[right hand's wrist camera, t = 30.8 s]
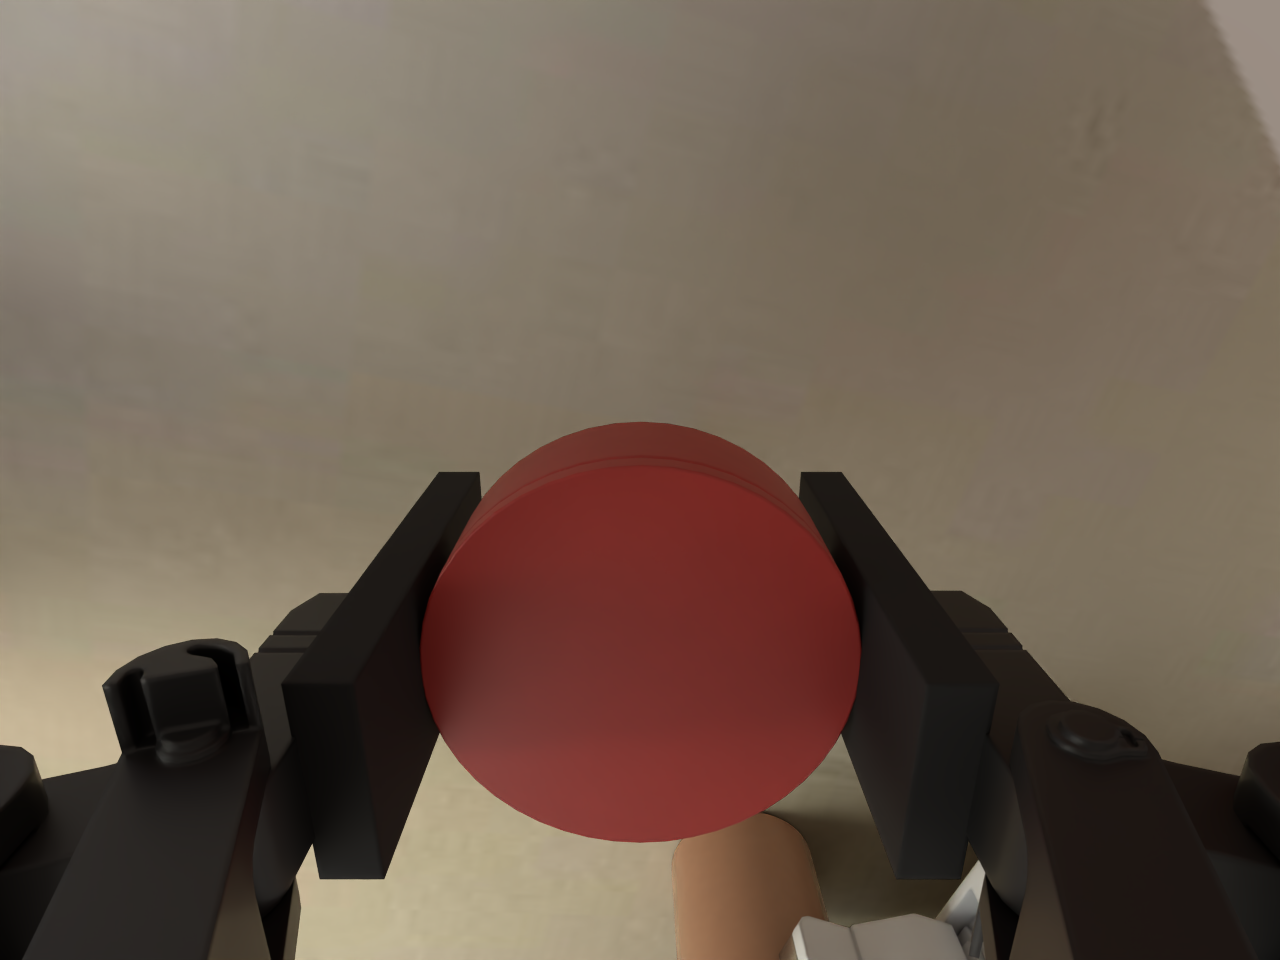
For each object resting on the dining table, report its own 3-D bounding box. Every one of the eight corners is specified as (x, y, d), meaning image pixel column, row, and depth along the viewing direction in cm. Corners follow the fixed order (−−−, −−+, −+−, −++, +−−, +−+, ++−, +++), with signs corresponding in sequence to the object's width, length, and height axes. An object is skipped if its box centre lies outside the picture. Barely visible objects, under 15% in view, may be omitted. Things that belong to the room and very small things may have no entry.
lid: (384, 628, 12) (335, 707, 10) (602, 337, 11) (594, 367, 9) (670, 804, 14) (675, 903, 12) (906, 569, 12) (956, 639, 10)
